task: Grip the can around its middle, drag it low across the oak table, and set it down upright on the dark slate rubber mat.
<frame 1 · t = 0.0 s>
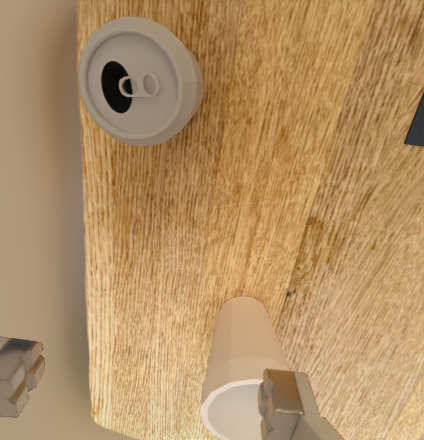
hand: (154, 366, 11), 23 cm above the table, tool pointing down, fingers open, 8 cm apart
foam cup: (242, 314, 40), on the table
can: (165, 86, 29), on the table
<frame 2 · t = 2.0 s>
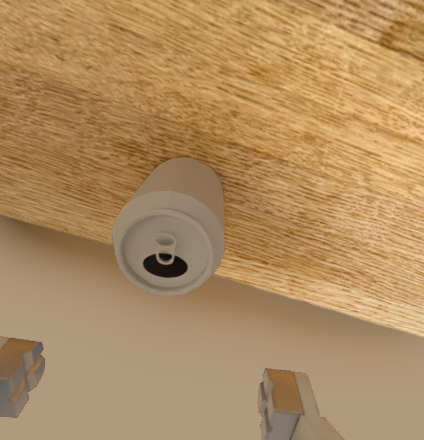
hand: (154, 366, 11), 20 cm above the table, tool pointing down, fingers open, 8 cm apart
can: (185, 192, 30), on the table
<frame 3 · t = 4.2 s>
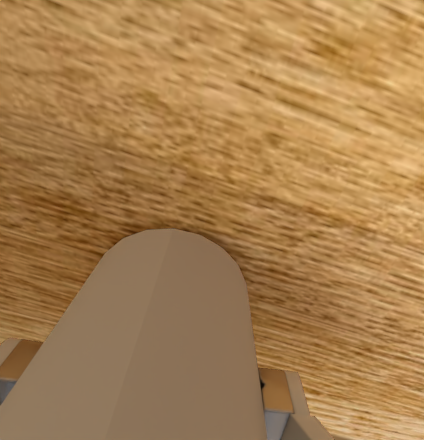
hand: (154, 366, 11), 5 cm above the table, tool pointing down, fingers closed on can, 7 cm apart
can: (173, 284, 16), on the table, touching gripper
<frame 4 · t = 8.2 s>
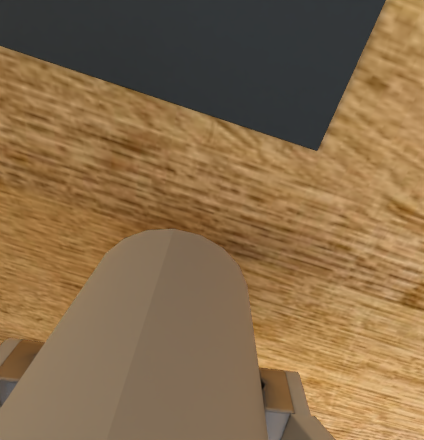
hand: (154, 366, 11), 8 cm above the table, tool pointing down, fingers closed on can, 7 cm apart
can: (174, 284, 16), point 3 cm above the table, touching gripper
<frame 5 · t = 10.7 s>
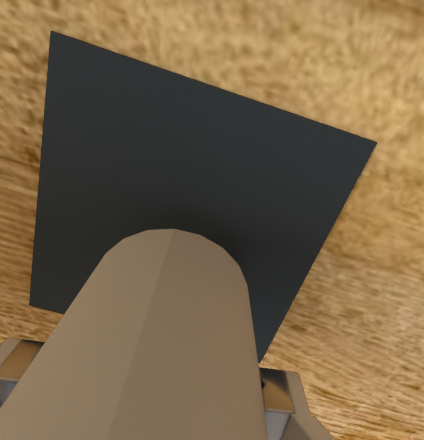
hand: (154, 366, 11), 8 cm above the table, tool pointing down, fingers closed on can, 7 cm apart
can: (174, 284, 16), point 3 cm above the table, touching gripper
mat: (179, 233, 17), on the table
when the fingers open (5 cm above the table, at t = 12.3 s): can stays where it is, resting on mat.
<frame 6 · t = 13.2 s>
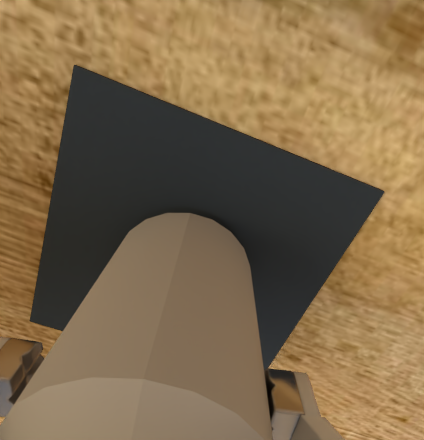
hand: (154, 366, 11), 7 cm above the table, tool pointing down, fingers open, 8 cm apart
can: (184, 264, 18), resting on mat
mat: (185, 262, 18), on the table
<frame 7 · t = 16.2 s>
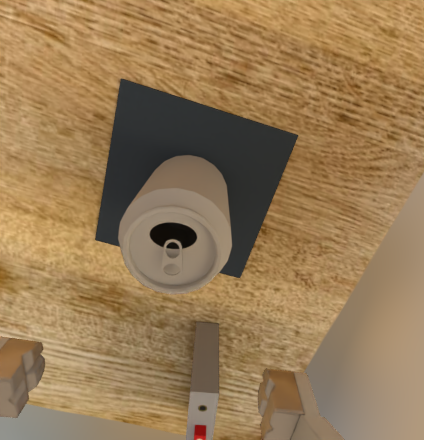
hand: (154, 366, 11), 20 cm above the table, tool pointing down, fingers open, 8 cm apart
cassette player: (202, 367, 40), on the table
can: (188, 190, 29), resting on mat
mat: (188, 191, 29), on the table
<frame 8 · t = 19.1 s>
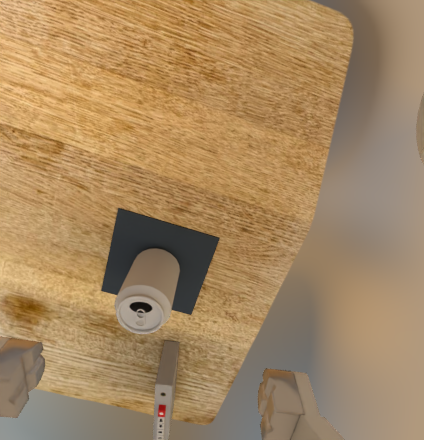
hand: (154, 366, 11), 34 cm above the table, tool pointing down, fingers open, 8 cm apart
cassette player: (170, 370, 60), on the table
can: (157, 265, 50), resting on mat
mat: (157, 265, 50), on the table
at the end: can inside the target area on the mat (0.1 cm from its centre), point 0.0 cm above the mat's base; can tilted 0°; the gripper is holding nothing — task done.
